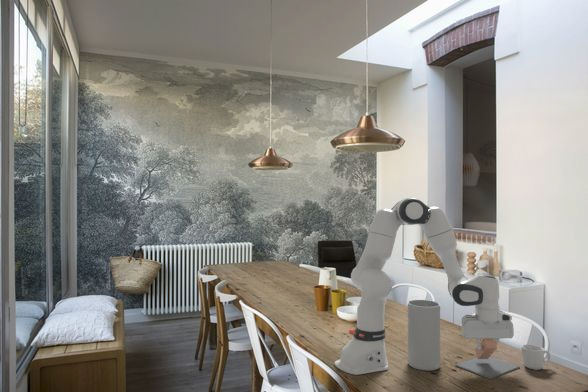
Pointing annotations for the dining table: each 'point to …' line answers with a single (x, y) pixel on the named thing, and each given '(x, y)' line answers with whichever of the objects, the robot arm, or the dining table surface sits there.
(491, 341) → the terracotta block
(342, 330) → the dining table surface
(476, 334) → the robot arm
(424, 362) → the cylinder vase
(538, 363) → the cup
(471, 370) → the charcoal mat
